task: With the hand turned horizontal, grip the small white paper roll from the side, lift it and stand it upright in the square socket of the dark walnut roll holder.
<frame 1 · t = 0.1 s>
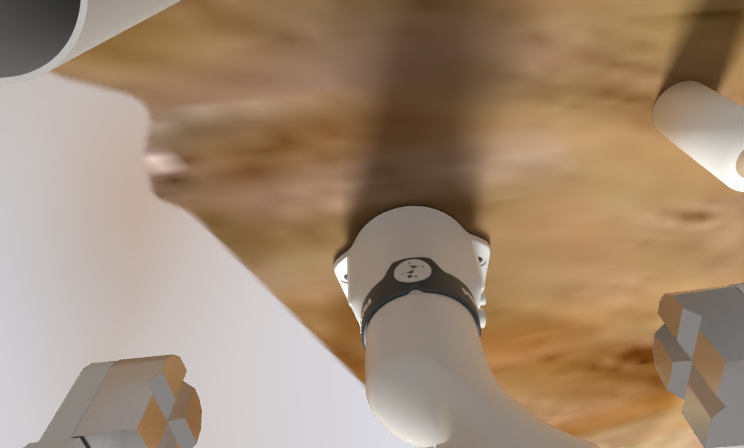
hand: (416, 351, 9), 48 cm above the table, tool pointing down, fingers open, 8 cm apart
paper roll: (681, 109, 57), on the table
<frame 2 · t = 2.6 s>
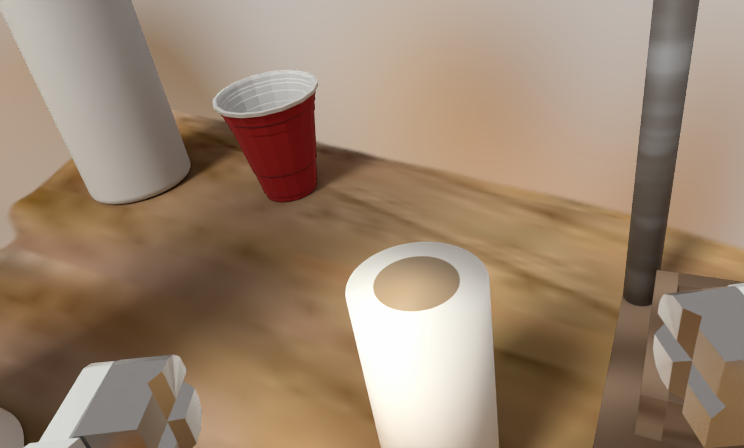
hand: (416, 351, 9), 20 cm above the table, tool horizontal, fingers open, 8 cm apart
cylinder vase: (144, 183, 70), on the table
plastic cup: (292, 192, 61), on the table
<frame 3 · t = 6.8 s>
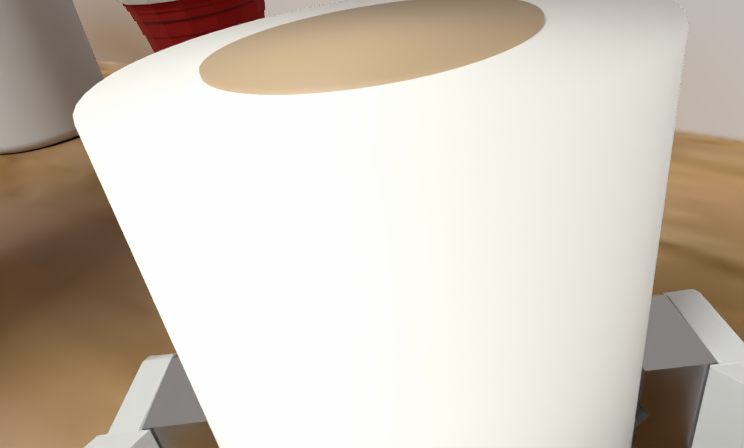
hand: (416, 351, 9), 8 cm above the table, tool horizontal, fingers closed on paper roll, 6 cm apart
cylinder vase: (51, 131, 53), on the table
plastic cup: (237, 133, 44), on the table
when the fingers open (10 cm above the table, at t = 11.6 s): paper roll drops 1 cm, resting on roll holder.
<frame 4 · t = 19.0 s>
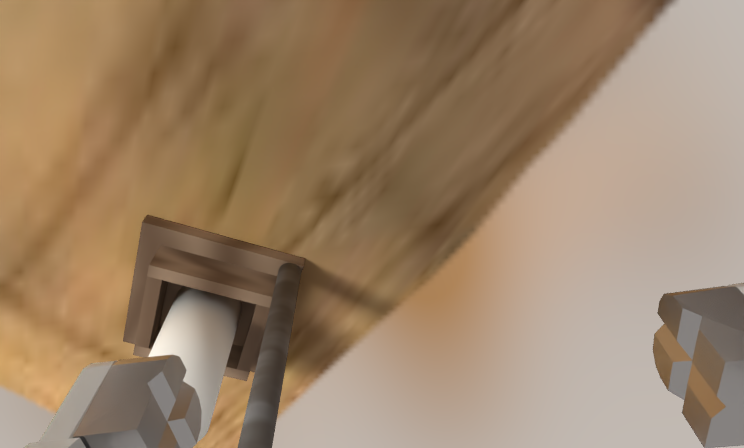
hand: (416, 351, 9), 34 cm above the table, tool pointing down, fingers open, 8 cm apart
paper roll: (208, 306, 50), point 1 cm above the table, touching roll holder
roll holder: (212, 297, 51), on the table
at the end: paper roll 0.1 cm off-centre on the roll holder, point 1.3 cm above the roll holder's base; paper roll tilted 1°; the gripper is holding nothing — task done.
